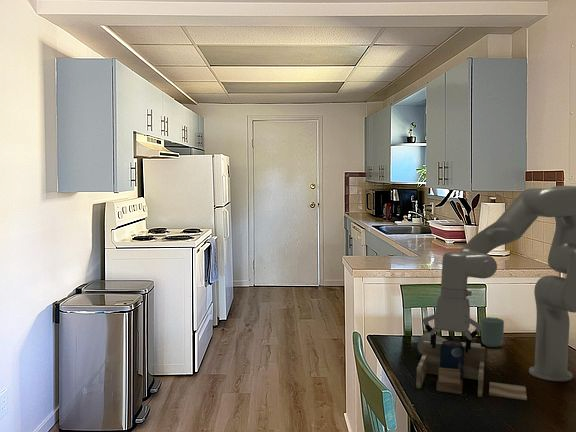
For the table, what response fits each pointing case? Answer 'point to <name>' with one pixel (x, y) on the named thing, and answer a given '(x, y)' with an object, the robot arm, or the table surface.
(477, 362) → the rack
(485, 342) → the cup
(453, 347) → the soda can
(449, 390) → the offcut walnut
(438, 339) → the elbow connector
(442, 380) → the offcut oak
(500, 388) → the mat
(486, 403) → the table surface
